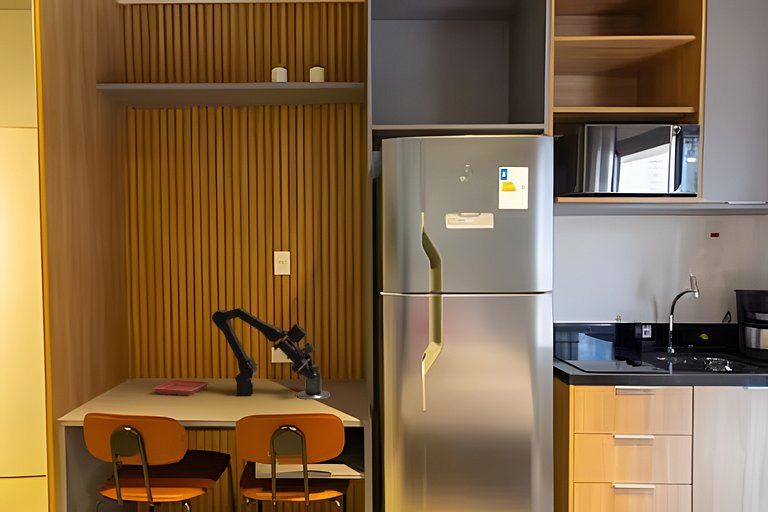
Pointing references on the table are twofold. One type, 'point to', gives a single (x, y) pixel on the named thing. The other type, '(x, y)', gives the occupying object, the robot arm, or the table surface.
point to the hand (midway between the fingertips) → (315, 376)
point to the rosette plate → (321, 396)
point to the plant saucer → (181, 387)
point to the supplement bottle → (313, 381)
